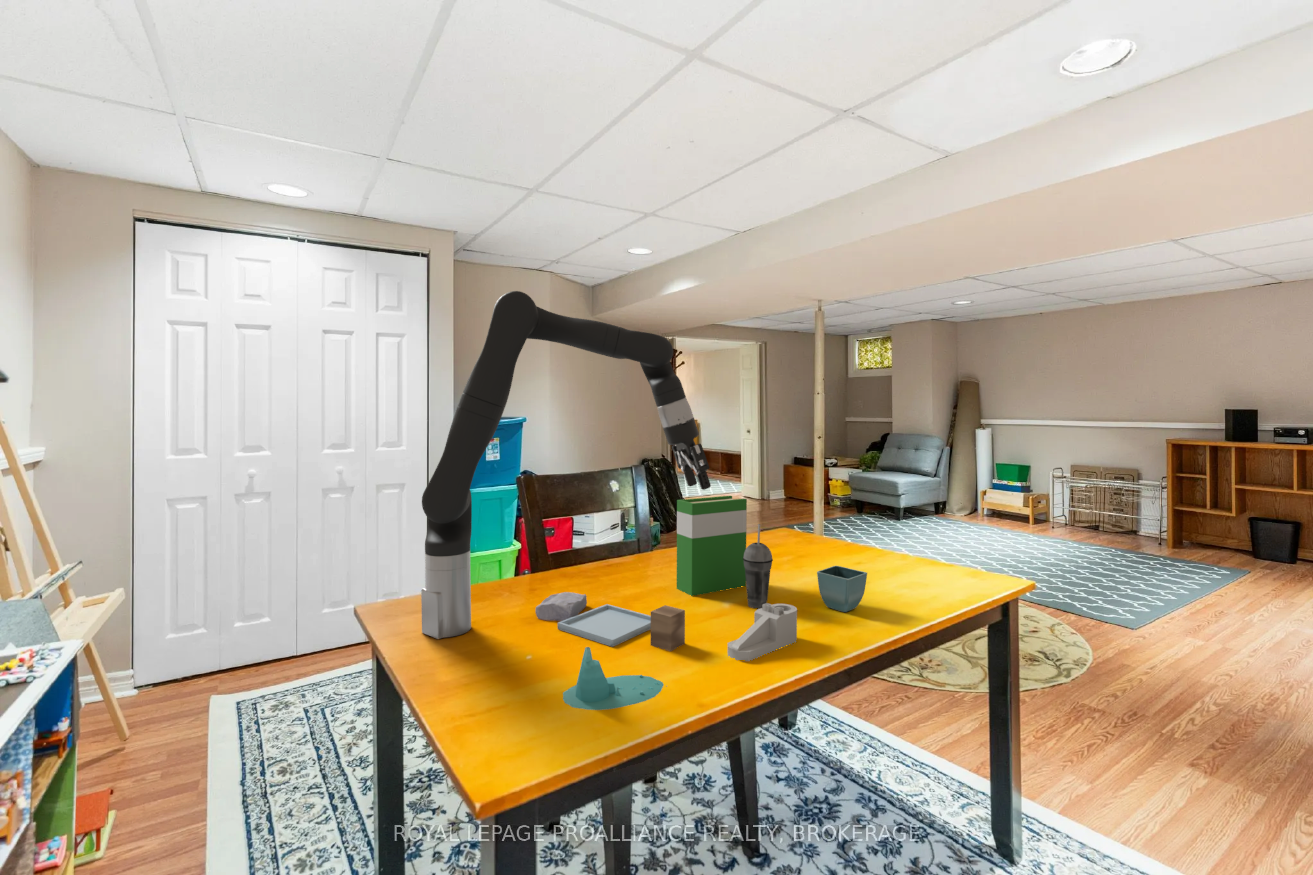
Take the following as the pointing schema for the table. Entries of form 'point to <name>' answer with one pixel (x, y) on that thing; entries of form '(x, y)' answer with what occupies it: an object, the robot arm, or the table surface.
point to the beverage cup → (757, 572)
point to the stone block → (561, 606)
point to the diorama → (608, 688)
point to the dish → (607, 624)
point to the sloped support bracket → (766, 632)
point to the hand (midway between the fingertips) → (699, 486)
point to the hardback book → (711, 544)
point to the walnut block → (667, 628)
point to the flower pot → (841, 587)
